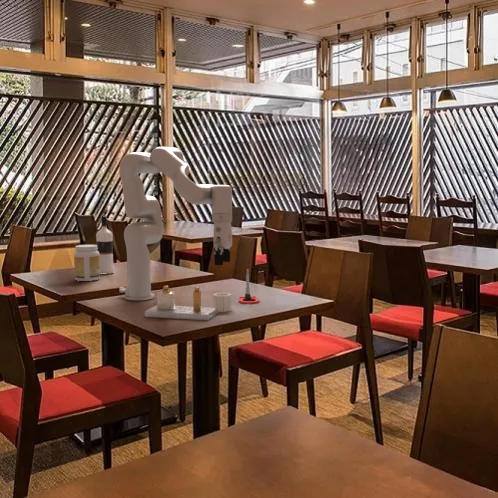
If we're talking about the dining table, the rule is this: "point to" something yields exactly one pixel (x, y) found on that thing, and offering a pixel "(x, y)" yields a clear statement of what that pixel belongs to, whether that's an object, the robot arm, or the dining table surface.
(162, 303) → the white tray with jars
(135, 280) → the robot arm
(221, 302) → the sleeve
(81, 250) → the supplement tub
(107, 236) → the vodka
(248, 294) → the grey tall post
